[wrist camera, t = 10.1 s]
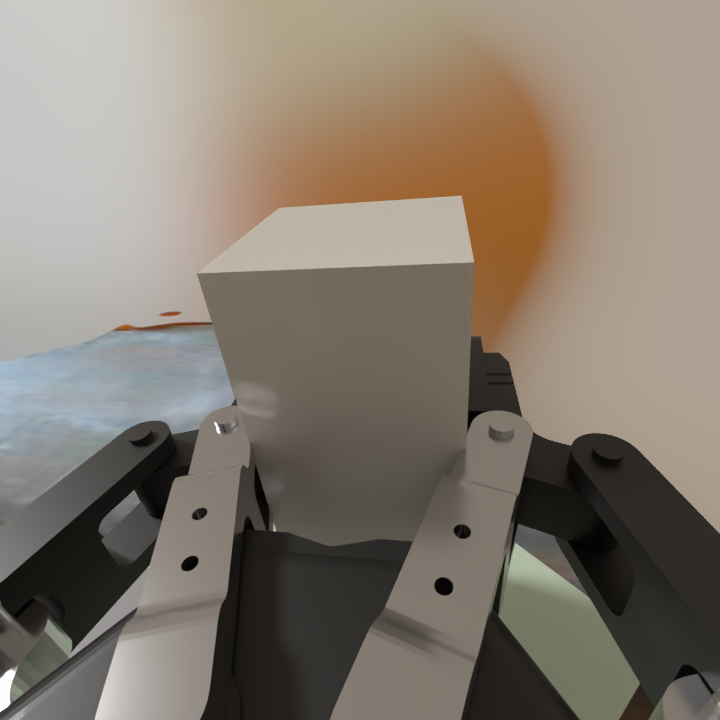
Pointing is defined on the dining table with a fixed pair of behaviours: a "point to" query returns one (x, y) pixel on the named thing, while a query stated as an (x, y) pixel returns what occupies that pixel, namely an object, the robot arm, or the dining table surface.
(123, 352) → the dining table surface
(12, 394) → the dining table surface
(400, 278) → the grey rectangular block
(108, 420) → the dining table surface
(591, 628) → the trapdoor
